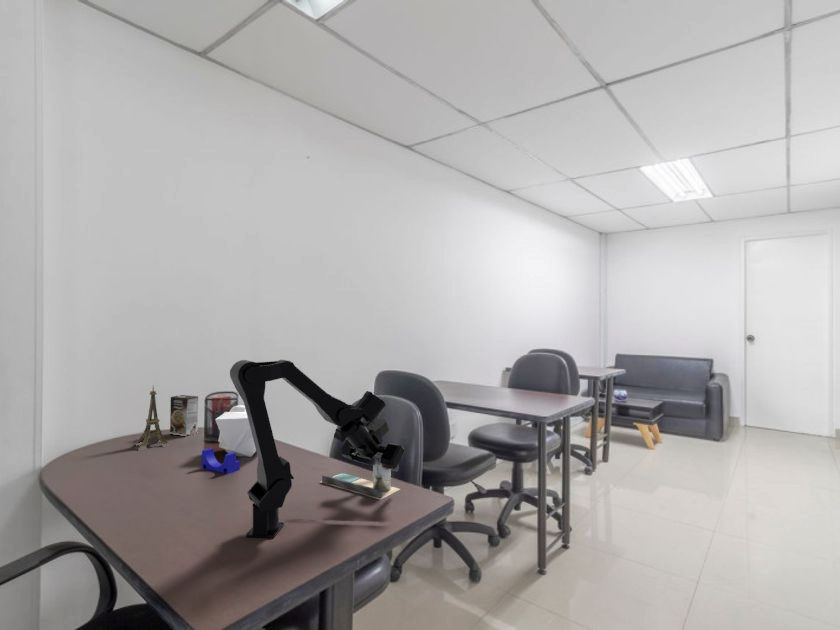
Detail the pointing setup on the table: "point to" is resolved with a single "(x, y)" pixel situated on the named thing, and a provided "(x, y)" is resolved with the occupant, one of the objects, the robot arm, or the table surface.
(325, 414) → the robot arm
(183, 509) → the table surface
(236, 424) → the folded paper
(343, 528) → the table surface
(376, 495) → the rail board
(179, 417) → the coffee box
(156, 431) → the eiffel tower
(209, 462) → the cable clip
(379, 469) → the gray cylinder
